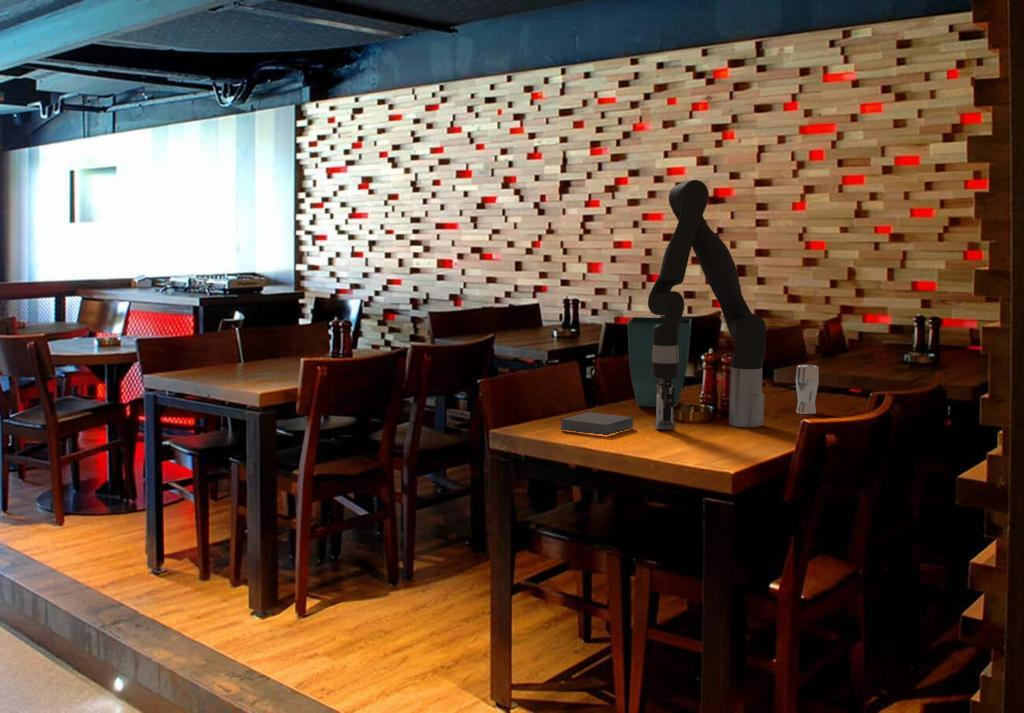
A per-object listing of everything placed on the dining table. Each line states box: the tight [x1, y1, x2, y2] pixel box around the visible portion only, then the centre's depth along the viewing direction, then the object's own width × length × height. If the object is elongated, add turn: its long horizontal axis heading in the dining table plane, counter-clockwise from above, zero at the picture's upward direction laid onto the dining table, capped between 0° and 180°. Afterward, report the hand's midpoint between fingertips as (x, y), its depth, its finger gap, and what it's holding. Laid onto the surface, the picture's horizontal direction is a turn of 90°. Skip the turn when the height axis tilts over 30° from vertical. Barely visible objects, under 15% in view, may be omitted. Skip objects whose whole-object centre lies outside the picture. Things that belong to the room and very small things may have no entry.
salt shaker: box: [653, 390, 676, 430], centre depth 294 cm, size 5×5×11 cm
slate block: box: [560, 411, 634, 435], centre depth 294 cm, size 15×15×4 cm
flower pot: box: [627, 316, 693, 408], centre depth 337 cm, size 20×20×28 cm
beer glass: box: [795, 364, 820, 415], centre depth 323 cm, size 7×7×15 cm
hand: (664, 419), depth 294 cm, fingers closed on salt shaker, 4 cm apart
